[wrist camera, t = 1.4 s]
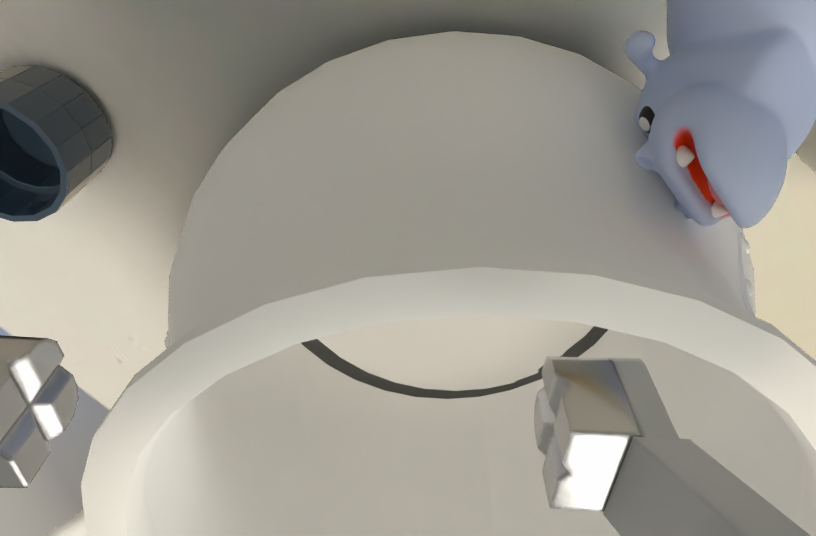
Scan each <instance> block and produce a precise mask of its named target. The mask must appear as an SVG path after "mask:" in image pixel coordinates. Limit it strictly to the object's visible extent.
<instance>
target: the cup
mask: <svg viewBox="0 0 816 536" xmlns="http://www.w3.org/2000/svg"><path fill="white" fill-rule="evenodd" d="M796 152H797V154H798V155H799V157H800V158H801V159H802V160H803V161H804V163H806V164H807V165H808V166H809V167H810V168H812V169H813V170H814V171H816V119H815V122H814V124H813V126H812V128H811V130H810V132H809V133H808V135H807V137H806V138H805V140H804V141H803V143H802V144H801V145H800V147H799V148H798V149H797V150H796Z"/></svg>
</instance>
